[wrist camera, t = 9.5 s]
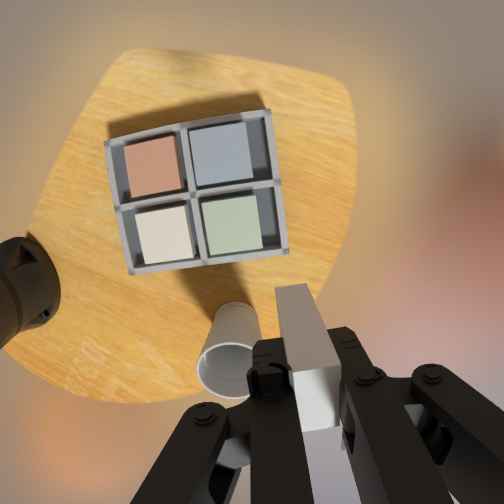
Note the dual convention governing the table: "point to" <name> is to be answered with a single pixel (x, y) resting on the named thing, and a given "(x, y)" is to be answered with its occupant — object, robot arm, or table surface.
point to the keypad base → (202, 192)
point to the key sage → (232, 224)
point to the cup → (229, 351)
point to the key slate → (221, 154)
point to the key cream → (165, 234)
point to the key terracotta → (154, 166)
